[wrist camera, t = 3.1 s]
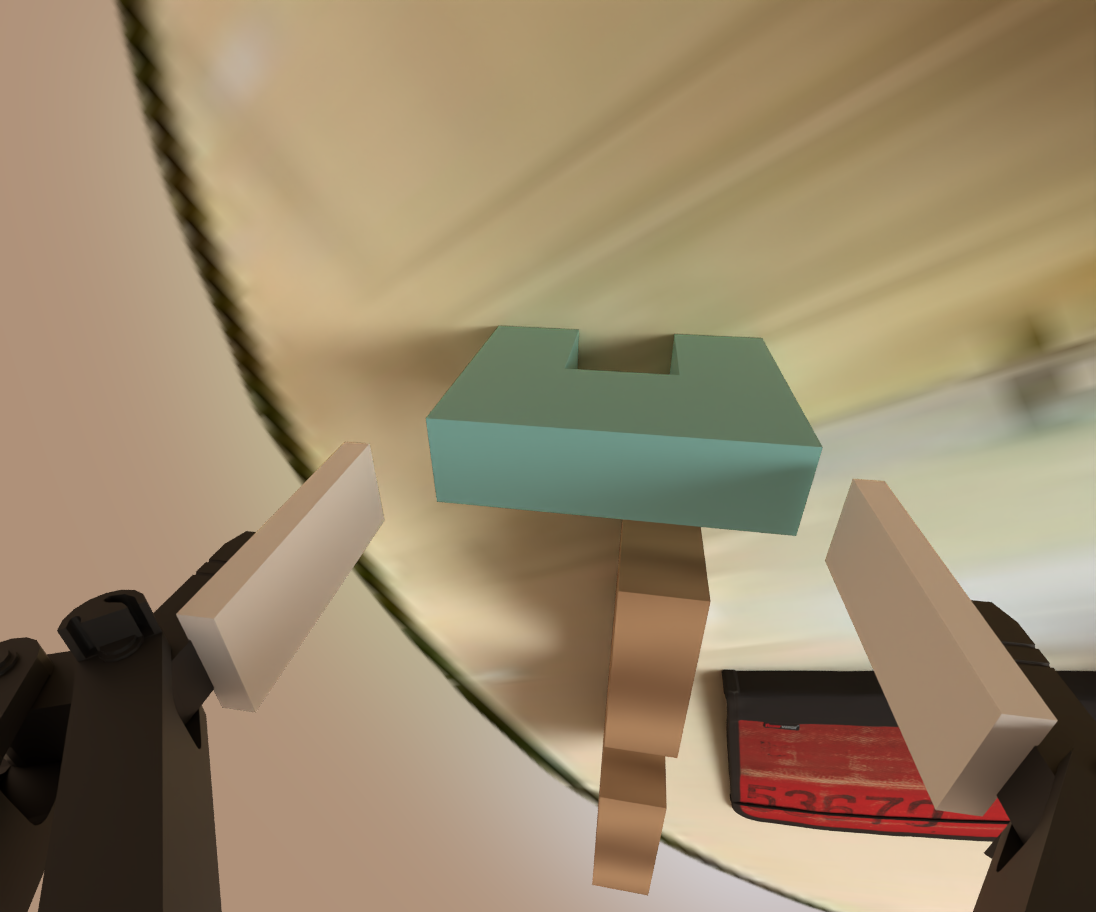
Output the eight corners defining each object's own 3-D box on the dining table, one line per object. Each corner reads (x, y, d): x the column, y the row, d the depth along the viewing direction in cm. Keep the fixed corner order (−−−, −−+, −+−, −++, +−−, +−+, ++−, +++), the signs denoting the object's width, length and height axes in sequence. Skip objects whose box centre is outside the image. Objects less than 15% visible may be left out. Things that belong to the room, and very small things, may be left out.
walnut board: (627, 455, 26) (618, 590, 18) (691, 460, 25) (710, 601, 18) (604, 729, 37) (592, 884, 29) (648, 736, 36) (647, 895, 29)
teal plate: (502, 389, 25) (436, 501, 17) (498, 325, 23) (425, 418, 16) (748, 405, 23) (795, 535, 16) (762, 338, 22) (822, 447, 14)
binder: (724, 697, 30) (1185, 702, 26) (719, 662, 32) (1147, 659, 27) (733, 831, 39) (1083, 854, 34) (729, 796, 41) (1059, 813, 36)
